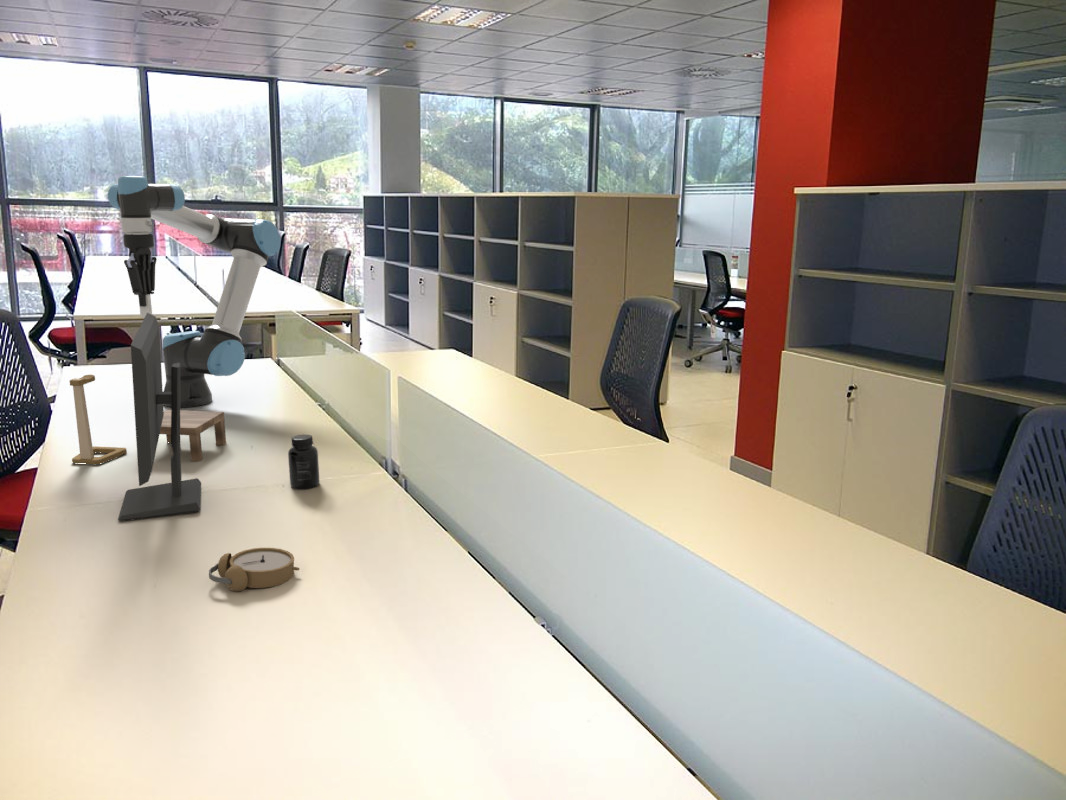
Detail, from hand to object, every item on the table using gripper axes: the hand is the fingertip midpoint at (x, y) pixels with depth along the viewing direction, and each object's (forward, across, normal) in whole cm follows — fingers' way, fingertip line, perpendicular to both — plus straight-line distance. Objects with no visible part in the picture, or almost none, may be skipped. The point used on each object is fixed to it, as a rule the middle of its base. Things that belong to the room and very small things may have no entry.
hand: (146, 317), depth 236 cm
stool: (+28, -14, -19) cm, 36 cm away
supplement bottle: (+33, -43, -60) cm, 81 cm away
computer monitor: (+33, -58, -33) cm, 74 cm away
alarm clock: (+33, -91, -68) cm, 118 cm away
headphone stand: (+33, -30, 0) cm, 44 cm away
